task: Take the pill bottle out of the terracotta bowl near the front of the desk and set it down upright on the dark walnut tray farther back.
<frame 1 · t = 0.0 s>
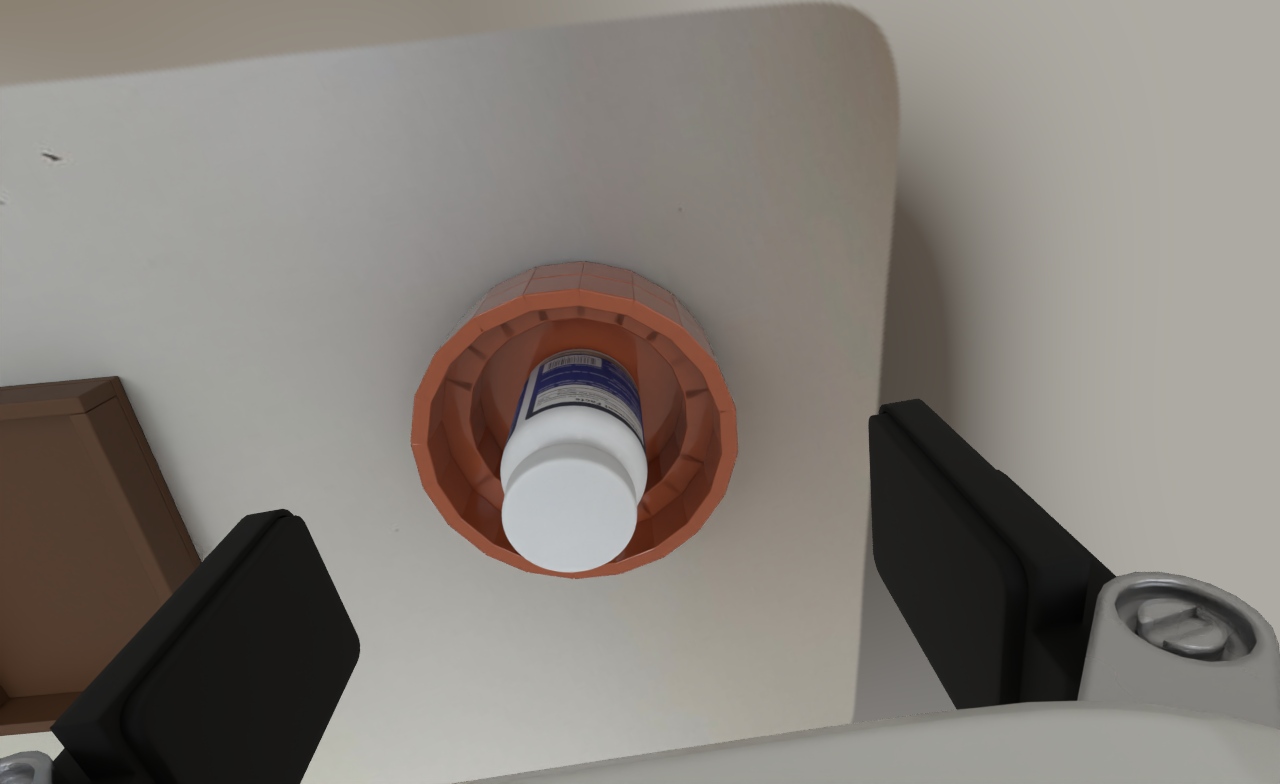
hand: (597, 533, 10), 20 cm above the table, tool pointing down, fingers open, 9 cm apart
tray: (57, 557, 34), on the table
pill bottle: (582, 398, 31), resting on bowl
bowl: (582, 395, 32), on the table
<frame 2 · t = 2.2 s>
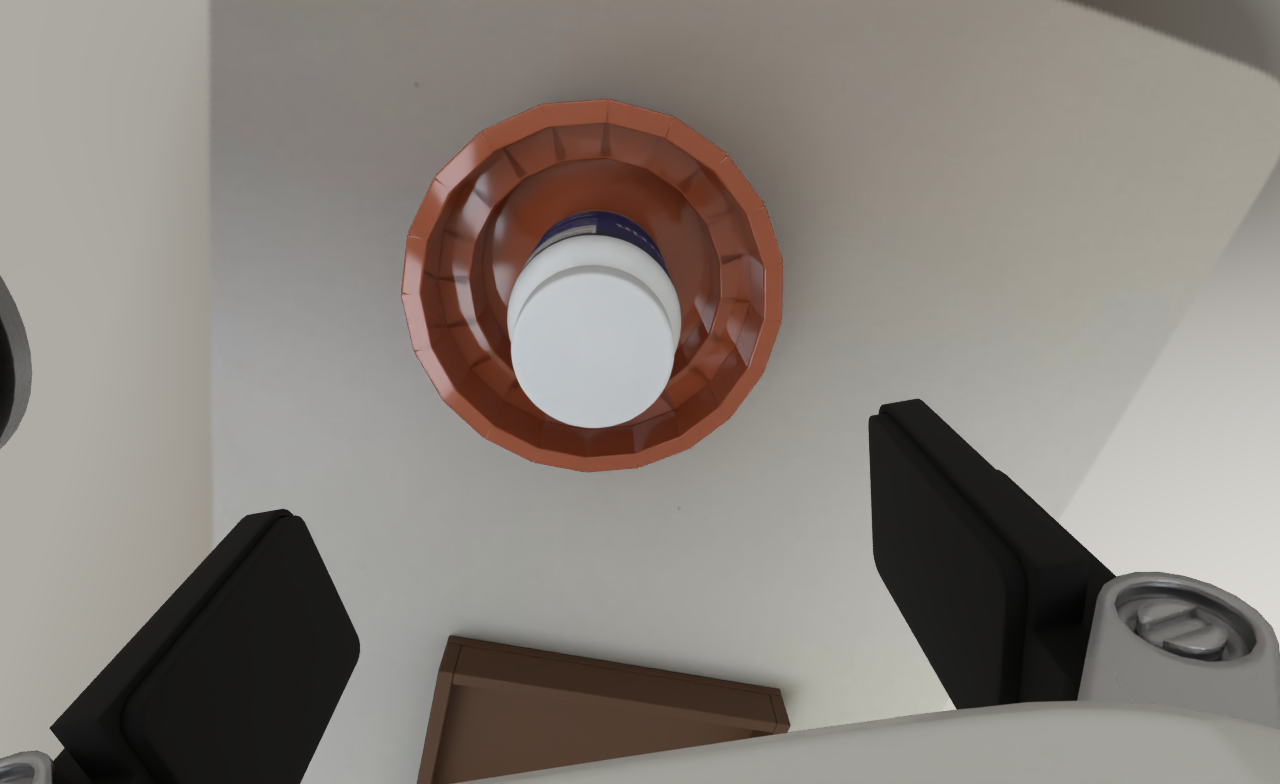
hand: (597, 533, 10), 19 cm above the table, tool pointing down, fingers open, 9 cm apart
tray: (591, 749, 40), on the table
pill bottle: (597, 274, 27), resting on bowl
bowl: (597, 272, 28), on the table
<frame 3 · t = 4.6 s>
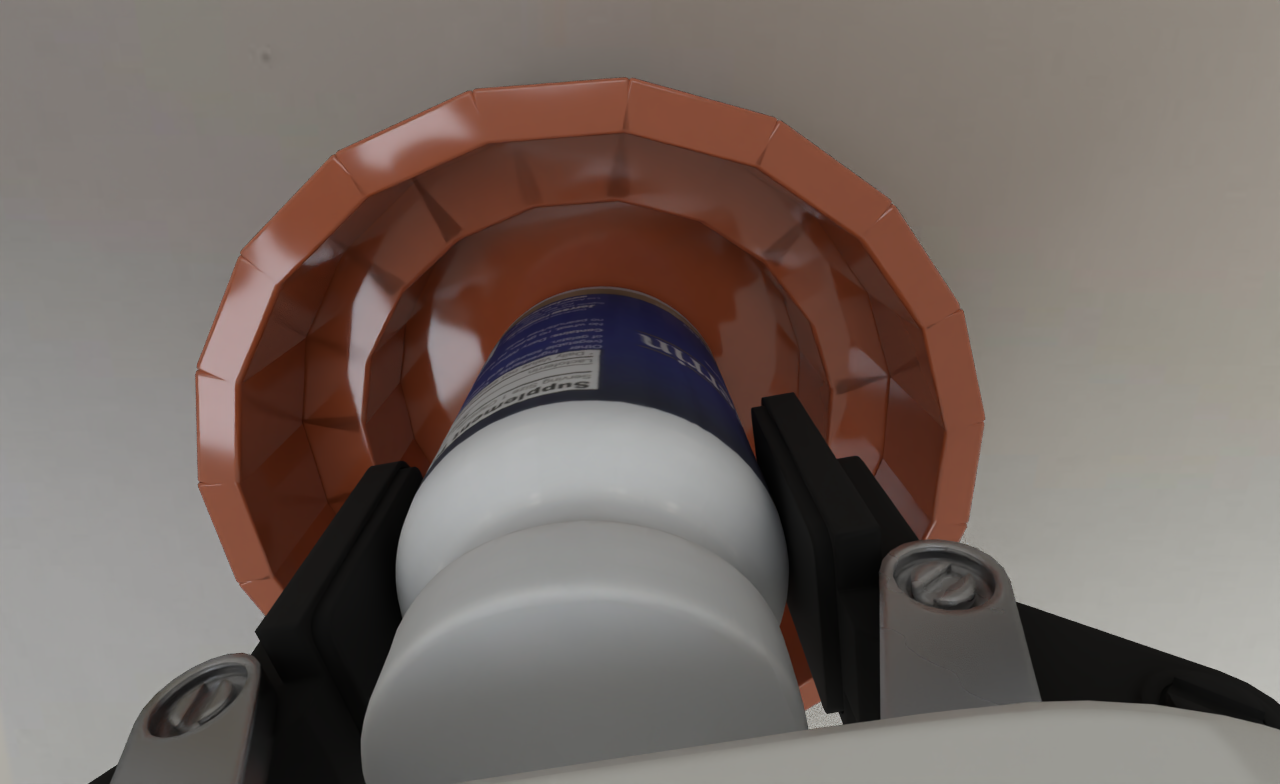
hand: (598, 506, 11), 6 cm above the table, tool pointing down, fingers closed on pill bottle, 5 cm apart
pill bottle: (603, 390, 16), resting on bowl, touching gripper
bowl: (603, 384, 16), on the table
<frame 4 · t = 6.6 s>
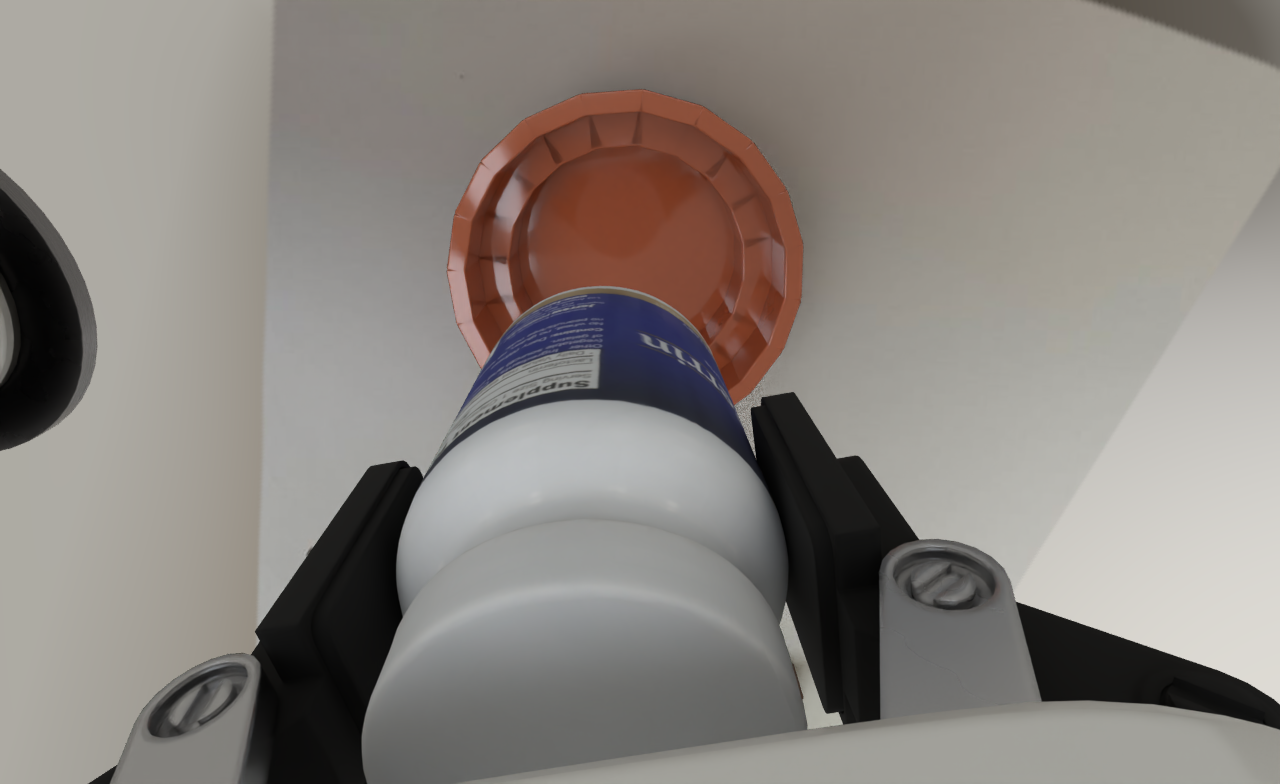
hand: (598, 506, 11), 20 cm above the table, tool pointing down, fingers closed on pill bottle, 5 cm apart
pill bottle: (603, 390, 16), point 15 cm above the table, touching gripper
bowl: (626, 255, 29), on the table
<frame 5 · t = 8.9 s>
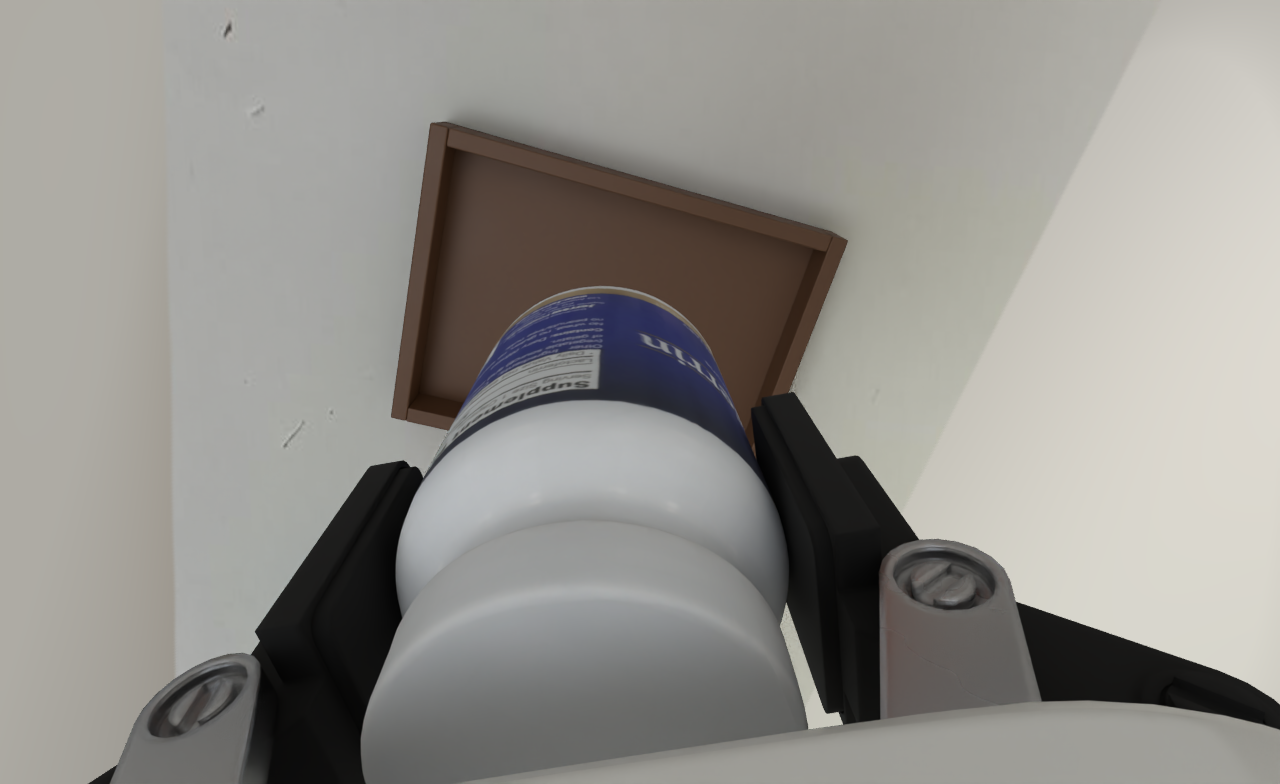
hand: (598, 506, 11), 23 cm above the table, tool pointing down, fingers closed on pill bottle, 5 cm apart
tray: (609, 318, 34), on the table
pill bottle: (603, 390, 16), point 18 cm above the table, touching gripper
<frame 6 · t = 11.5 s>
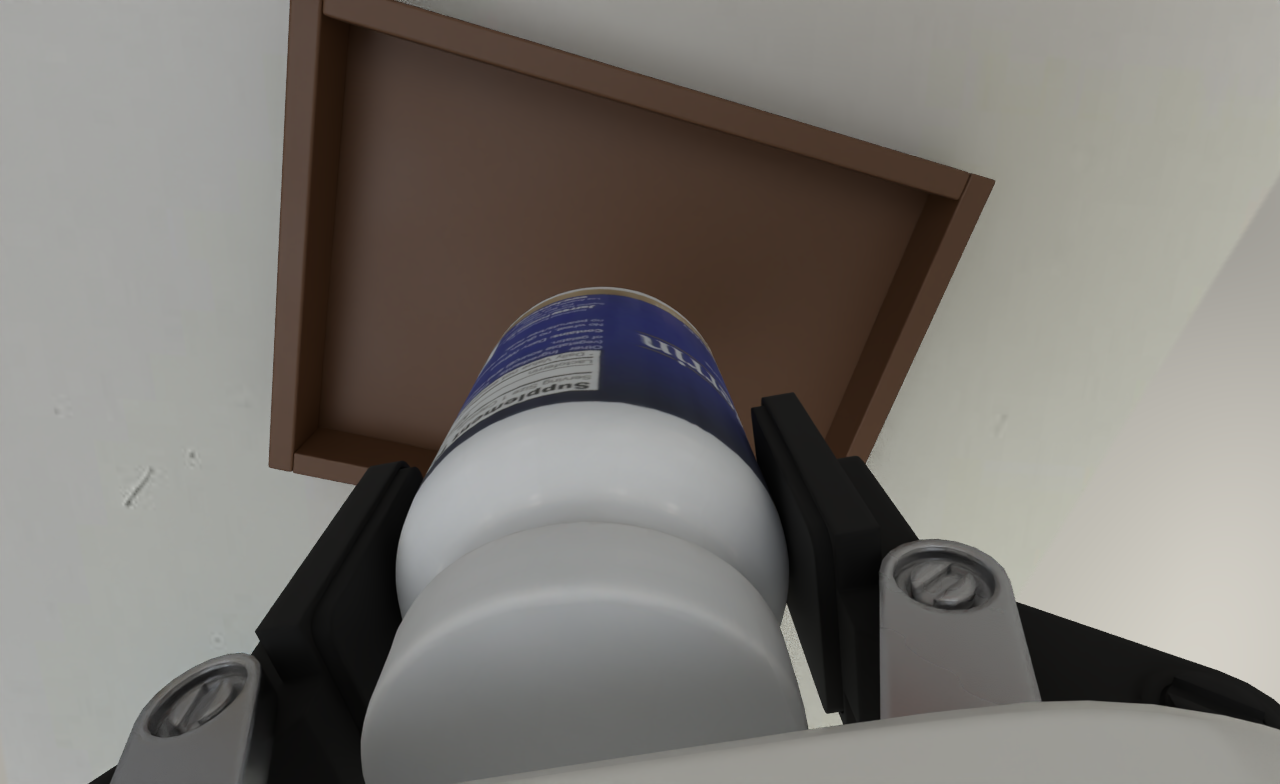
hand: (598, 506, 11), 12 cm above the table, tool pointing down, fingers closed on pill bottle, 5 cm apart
tray: (606, 311, 22), on the table
pill bottle: (603, 390, 16), point 7 cm above the table, touching gripper
when the fingers open (5 cm above the table, at t = 13.5 s): pill bottle stays where it is, resting on tray.
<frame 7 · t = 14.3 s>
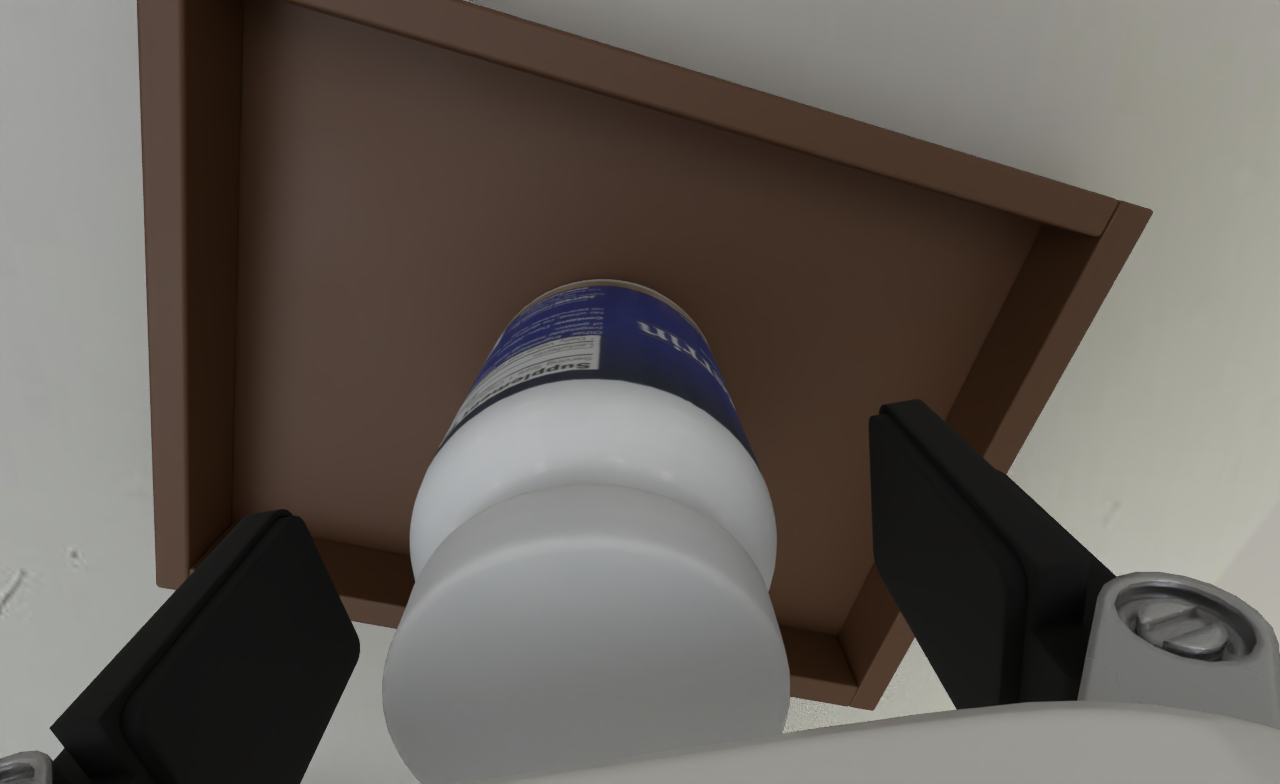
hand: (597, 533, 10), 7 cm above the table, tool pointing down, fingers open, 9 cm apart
tray: (606, 376, 17), on the table
pill bottle: (603, 379, 17), resting on tray
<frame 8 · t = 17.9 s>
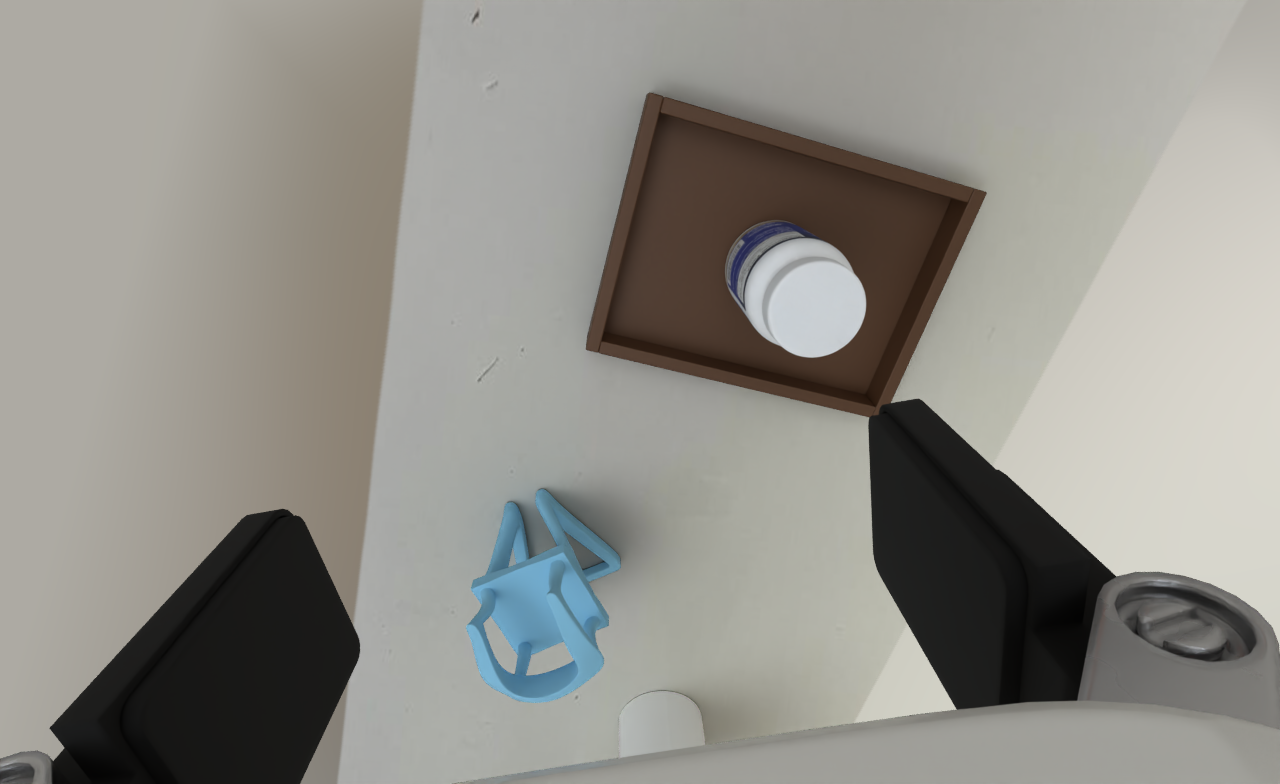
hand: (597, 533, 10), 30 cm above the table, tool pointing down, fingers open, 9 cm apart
chair: (551, 537, 47), on the table
tray: (769, 265, 39), on the table
pill bottle: (769, 265, 39), resting on tray
cylindrical container: (660, 719, 55), on the table
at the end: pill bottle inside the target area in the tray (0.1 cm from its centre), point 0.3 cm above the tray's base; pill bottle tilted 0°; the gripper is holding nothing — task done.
